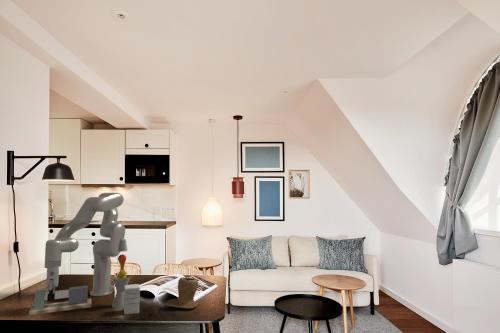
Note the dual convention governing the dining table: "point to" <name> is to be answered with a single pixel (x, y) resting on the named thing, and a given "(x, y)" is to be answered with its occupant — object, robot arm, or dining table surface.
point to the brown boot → (185, 294)
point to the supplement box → (131, 298)
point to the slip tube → (58, 294)
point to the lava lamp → (120, 277)
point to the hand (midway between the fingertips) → (51, 299)
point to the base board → (59, 307)
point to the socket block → (39, 300)
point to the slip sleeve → (78, 295)
